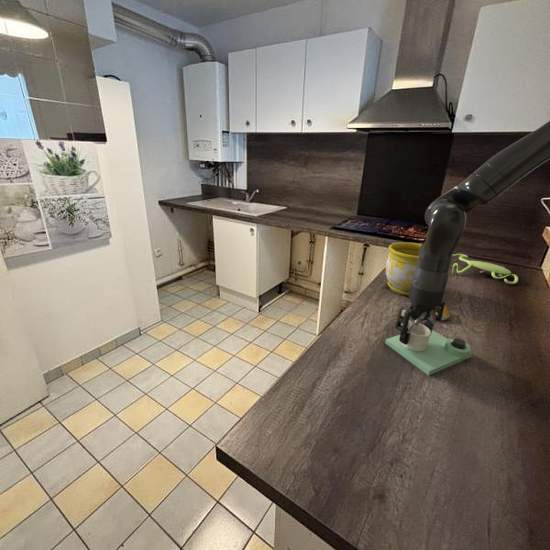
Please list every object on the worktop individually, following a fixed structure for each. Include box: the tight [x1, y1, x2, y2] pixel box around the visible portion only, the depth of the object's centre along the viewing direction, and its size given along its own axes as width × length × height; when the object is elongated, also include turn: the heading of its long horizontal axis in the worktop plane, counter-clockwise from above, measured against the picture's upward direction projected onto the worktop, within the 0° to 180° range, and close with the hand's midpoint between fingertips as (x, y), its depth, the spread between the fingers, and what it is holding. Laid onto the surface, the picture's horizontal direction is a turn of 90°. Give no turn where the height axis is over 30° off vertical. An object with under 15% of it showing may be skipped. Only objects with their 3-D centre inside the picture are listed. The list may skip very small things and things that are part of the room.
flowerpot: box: [385, 241, 423, 297], centre depth 111 cm, size 18×18×16 cm
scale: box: [384, 329, 473, 376], centre depth 78 cm, size 16×14×3 cm
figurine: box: [451, 253, 519, 285], centre depth 129 cm, size 18×27×6 cm
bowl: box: [401, 323, 431, 352], centre depth 77 cm, size 6×6×5 cm
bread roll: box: [435, 304, 451, 322], centre depth 96 cm, size 8×9×4 cm
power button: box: [452, 337, 467, 349], centre depth 76 cm, size 3×3×2 cm
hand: (415, 338), depth 78 cm, fingers open, 8 cm apart
